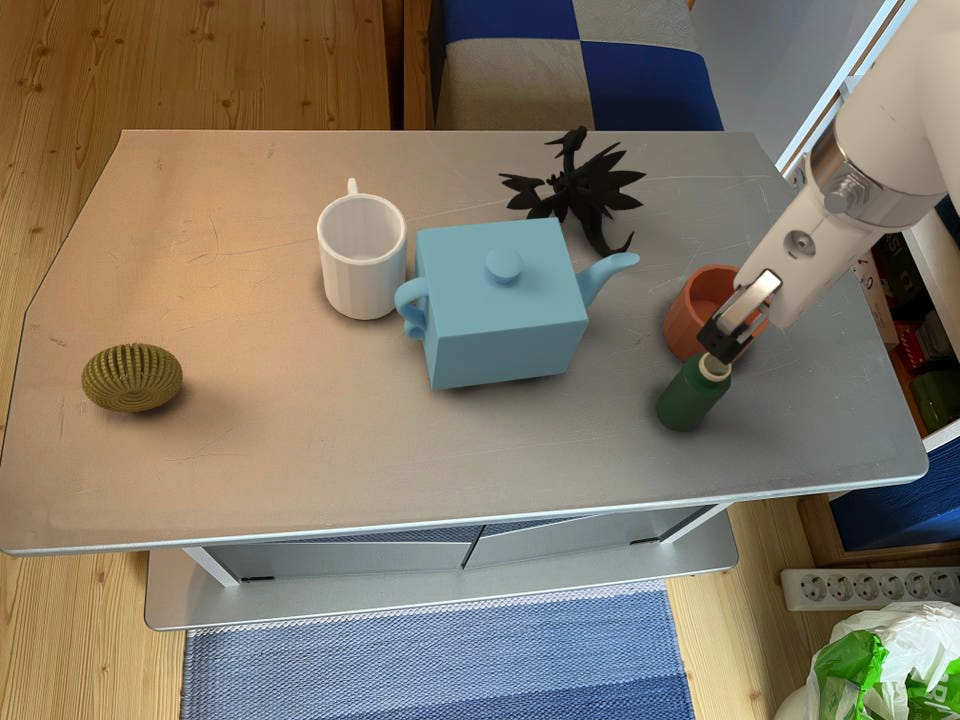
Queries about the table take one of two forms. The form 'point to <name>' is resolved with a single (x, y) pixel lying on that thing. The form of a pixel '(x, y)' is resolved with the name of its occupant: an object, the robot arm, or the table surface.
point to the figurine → (579, 190)
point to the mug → (362, 253)
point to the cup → (702, 309)
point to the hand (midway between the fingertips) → (750, 315)
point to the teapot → (499, 300)
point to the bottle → (693, 392)
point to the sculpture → (132, 377)
